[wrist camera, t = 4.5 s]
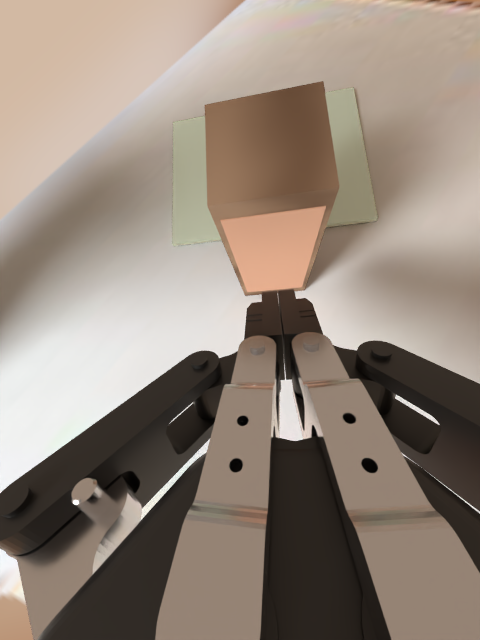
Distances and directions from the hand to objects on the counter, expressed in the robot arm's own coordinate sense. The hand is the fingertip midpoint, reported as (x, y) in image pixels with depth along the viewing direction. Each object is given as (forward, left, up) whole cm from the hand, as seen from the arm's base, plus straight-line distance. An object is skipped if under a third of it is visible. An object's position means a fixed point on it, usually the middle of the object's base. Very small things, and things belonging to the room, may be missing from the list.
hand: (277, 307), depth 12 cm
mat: (0, +16, -8) cm, 18 cm away
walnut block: (0, +6, -8) cm, 10 cm away
